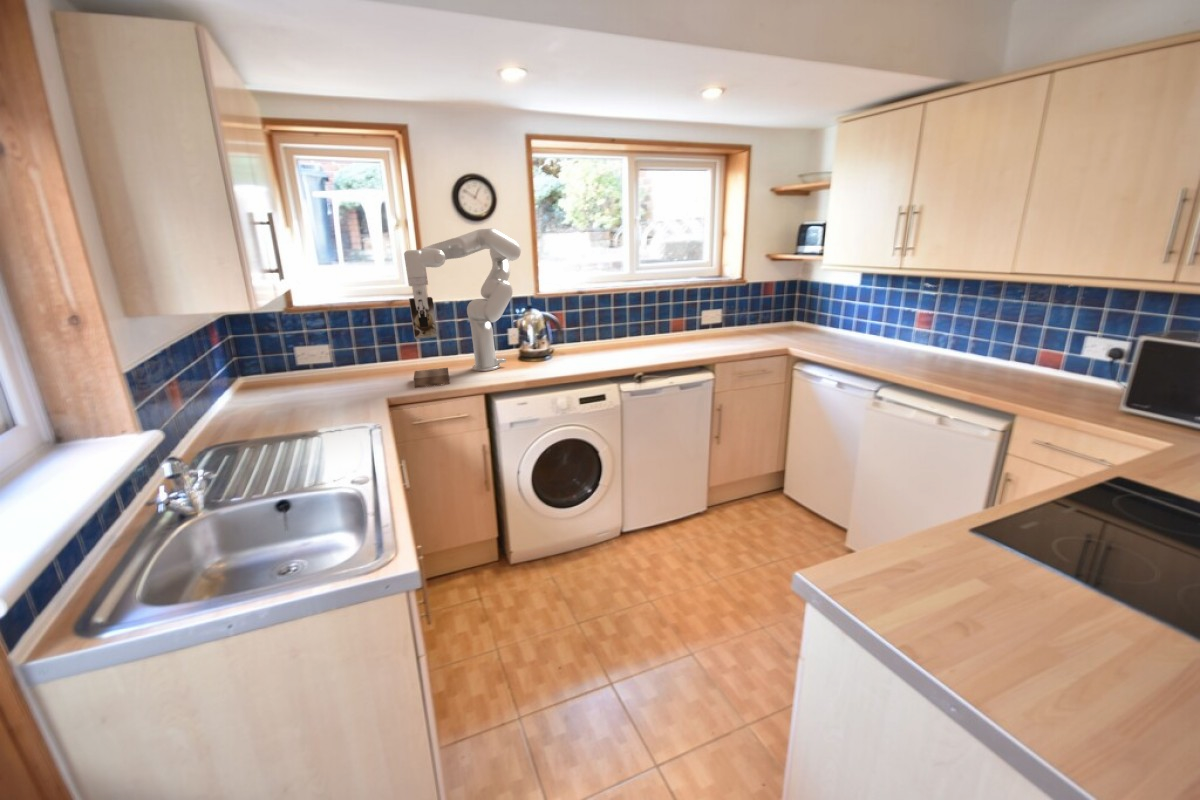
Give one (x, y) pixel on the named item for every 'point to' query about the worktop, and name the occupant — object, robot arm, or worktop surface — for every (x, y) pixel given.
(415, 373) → the walnut plinth
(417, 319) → the coffee box
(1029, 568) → the worktop surface
